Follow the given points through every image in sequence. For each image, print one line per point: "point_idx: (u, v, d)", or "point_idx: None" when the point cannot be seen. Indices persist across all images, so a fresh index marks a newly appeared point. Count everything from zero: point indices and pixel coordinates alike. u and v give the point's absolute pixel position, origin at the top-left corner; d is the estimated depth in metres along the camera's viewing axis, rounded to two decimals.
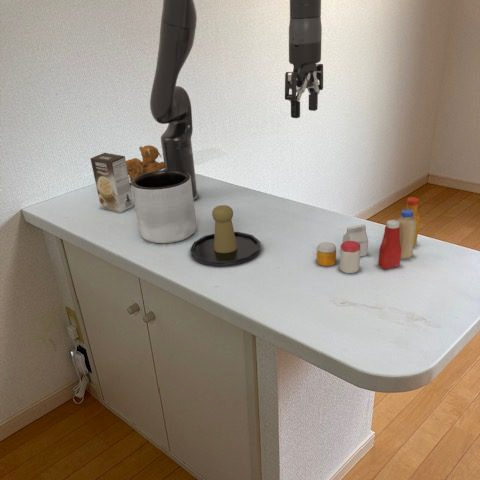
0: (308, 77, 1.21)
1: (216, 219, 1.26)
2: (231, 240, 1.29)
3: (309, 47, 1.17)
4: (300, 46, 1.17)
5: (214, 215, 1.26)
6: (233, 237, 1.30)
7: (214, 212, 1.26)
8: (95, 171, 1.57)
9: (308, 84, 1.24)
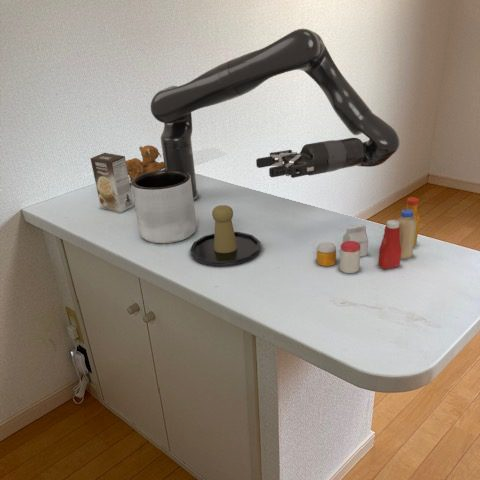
0: None
1: (216, 219, 1.26)
2: (231, 240, 1.29)
3: (323, 171, 1.28)
4: (326, 165, 1.26)
5: (214, 215, 1.26)
6: (233, 237, 1.30)
7: (214, 212, 1.26)
8: (95, 171, 1.57)
9: None
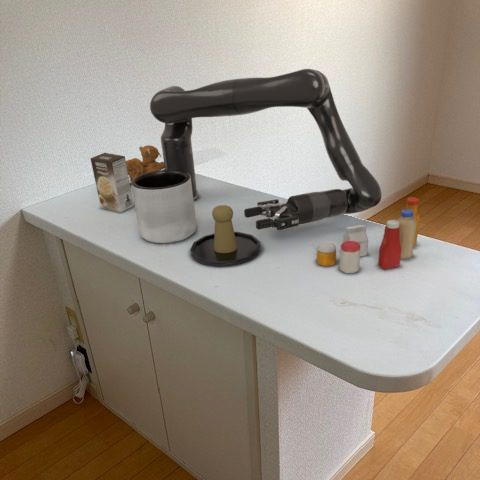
0: None
1: (216, 219, 1.26)
2: (231, 240, 1.29)
3: (308, 222, 1.34)
4: (311, 216, 1.32)
5: (214, 215, 1.26)
6: (233, 237, 1.30)
7: (214, 212, 1.26)
8: (95, 171, 1.57)
9: None
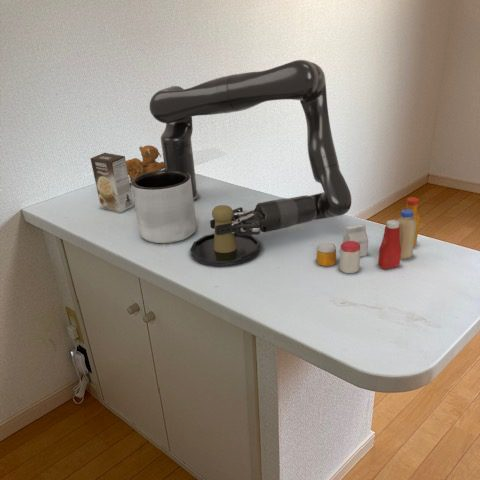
0: None
1: (216, 219, 1.26)
2: (231, 240, 1.29)
3: (276, 229, 1.32)
4: (279, 223, 1.30)
5: (214, 215, 1.26)
6: (233, 237, 1.30)
7: (214, 212, 1.26)
8: (95, 171, 1.57)
9: None
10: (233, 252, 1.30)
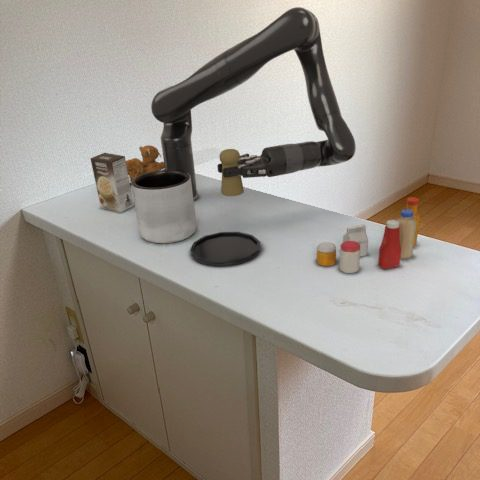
0: None
1: (223, 162, 1.30)
2: (238, 183, 1.33)
3: (282, 173, 1.35)
4: (284, 167, 1.33)
5: (221, 158, 1.30)
6: (240, 180, 1.33)
7: (221, 155, 1.30)
8: (95, 171, 1.57)
9: None
10: (233, 252, 1.30)
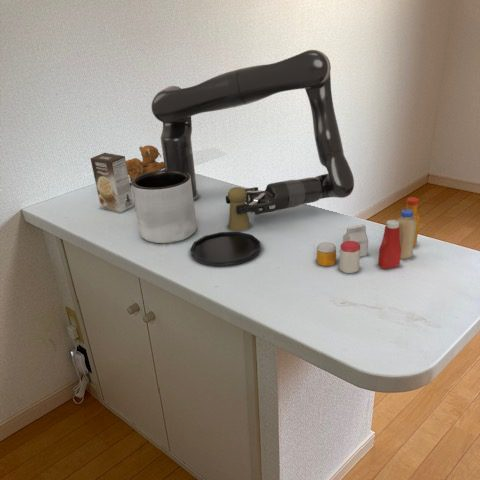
0: None
1: (231, 199, 1.39)
2: (245, 219, 1.42)
3: (285, 207, 1.44)
4: (287, 202, 1.43)
5: (229, 196, 1.39)
6: (246, 216, 1.43)
7: (229, 193, 1.39)
8: (95, 171, 1.57)
9: None
10: (233, 252, 1.30)
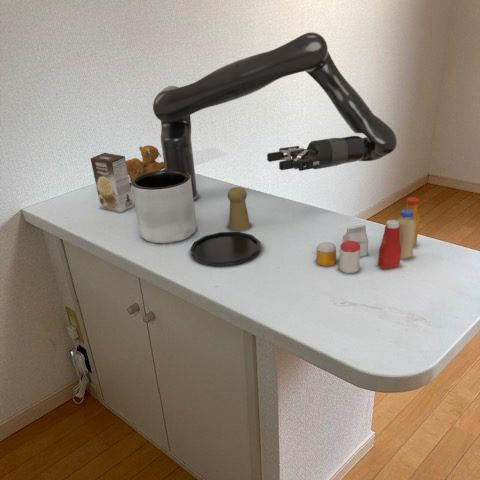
0: None
1: (231, 199, 1.39)
2: (245, 219, 1.42)
3: (327, 166, 1.42)
4: (330, 160, 1.40)
5: (229, 196, 1.39)
6: (246, 216, 1.43)
7: (229, 193, 1.39)
8: (95, 171, 1.57)
9: None
10: (233, 252, 1.30)
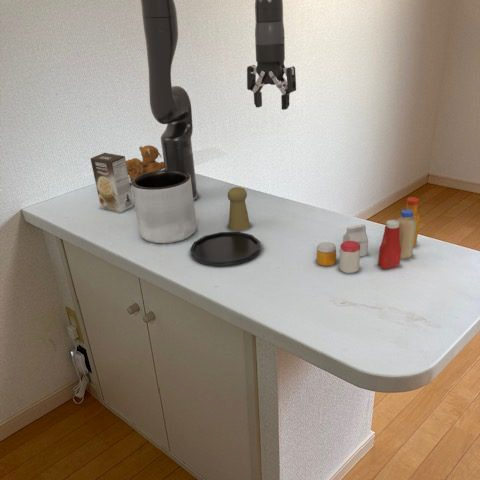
0: None
1: (231, 199, 1.39)
2: (245, 219, 1.42)
3: None
4: (283, 44, 1.32)
5: (229, 196, 1.39)
6: (246, 216, 1.43)
7: (229, 193, 1.39)
8: (95, 171, 1.57)
9: None
10: (233, 252, 1.30)
